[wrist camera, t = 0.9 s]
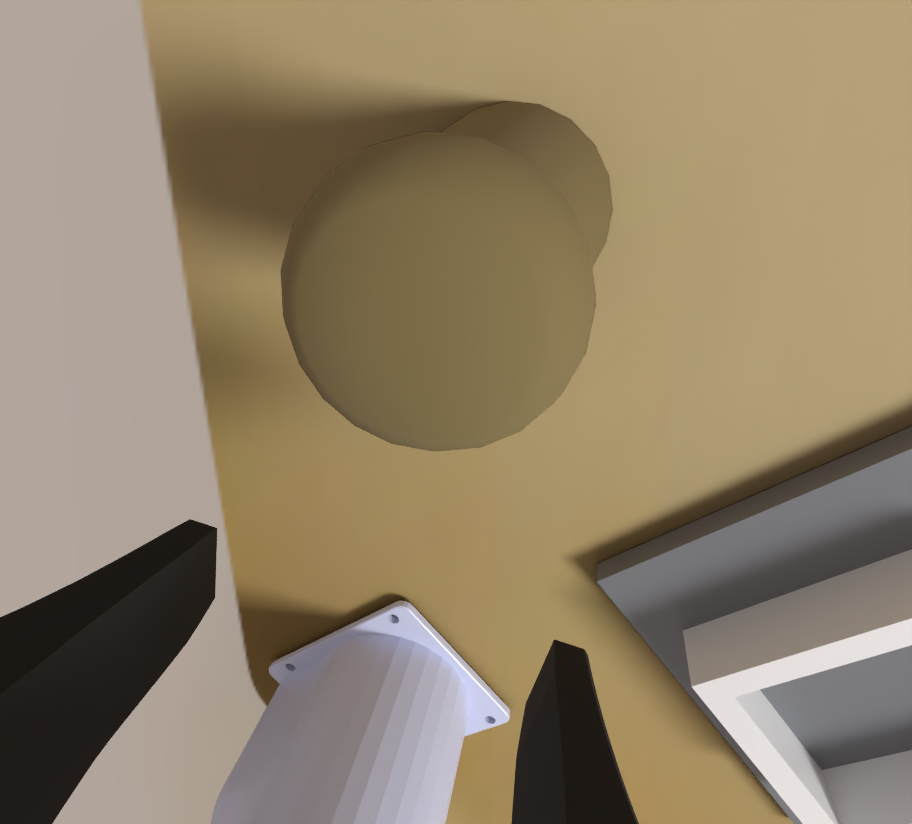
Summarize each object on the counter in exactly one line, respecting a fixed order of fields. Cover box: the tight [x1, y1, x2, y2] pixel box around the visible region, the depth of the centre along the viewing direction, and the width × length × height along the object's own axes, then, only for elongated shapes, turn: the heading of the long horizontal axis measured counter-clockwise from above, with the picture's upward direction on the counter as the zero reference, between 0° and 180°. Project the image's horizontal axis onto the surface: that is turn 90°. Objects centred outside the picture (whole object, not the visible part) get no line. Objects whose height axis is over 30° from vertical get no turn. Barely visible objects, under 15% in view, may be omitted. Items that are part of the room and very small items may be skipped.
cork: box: [281, 101, 613, 451], centre depth 13 cm, size 6×6×11 cm
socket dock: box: [597, 426, 912, 824], centre depth 21 cm, size 13×17×4 cm
